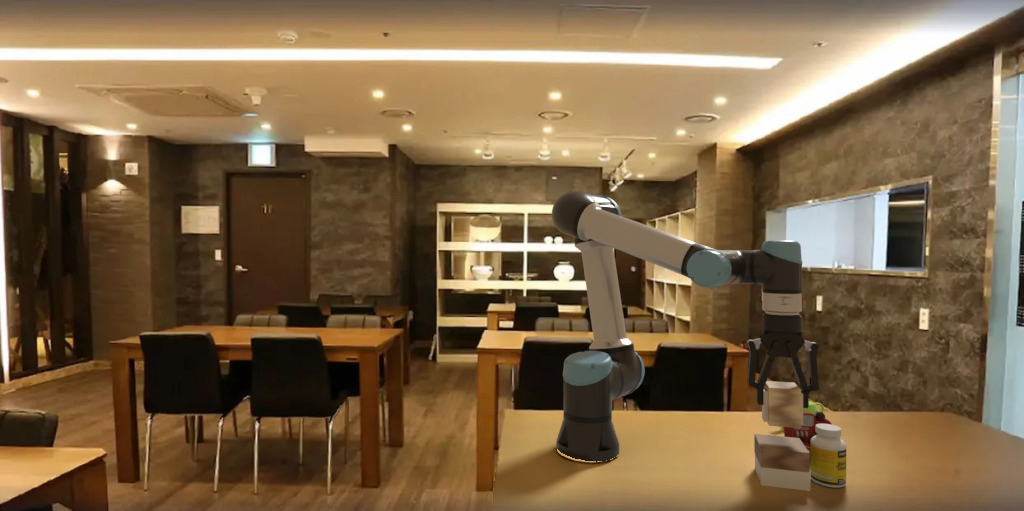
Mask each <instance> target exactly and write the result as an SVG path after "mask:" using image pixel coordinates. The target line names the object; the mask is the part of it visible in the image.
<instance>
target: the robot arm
mask: <svg viewBox="0 0 1024 511" xmlns="http://www.w3.org/2000/svg"><path fill="white" fill-rule="evenodd" d="M551 219H552V222H553V224H554V226H555V228H556V229H557V230H558V231H559V232H560V233H562V234H564V235H566V236H570V237H573V241H574V247H575V248H576V249H577V250H579V251H580V252H581V258H582V267H583V272H584V273H583V274H584V281H585V287H586V295H587V300H588V308H589V314H590V315H589V316H590V321H591V322H590V323H591V329H592V336H593V340H592V343H591V344H590V345H589V347H588V349H589V350H584V351H578V352H575V353H571V354H569V355H568V356H567V357H566V358H565V359H564V362H563V371H562V378H563V382H562V383H563V385H562V386H563V392H562V393H563V395H562V397H563V400H562V401H563V403H562V404H563V406H562V407H563V419H562V422H561V426H560V428H559V432H558V434H557V437H556V443H555V444H556V446H555V448H556V447H557V449H558V450H559V451H560V452H561V453H563V454H565V455H567V456H570V457H572V458H575V459H581V460H585V461H596V462H597V461H606V460H610V459H612V458H614V457H616V456H617V455H618V454H619V455H620V443H619V439H618V436H617V433H616V430H615V426H614V423H613V420H612V419H613V415H612V414H613V413H612V412H613V401H615V400H617V399H619V398H622V397H625V396H627V395H630V394H632V393H634V392H635V391H636V390H637V389H638V388H639V387H640V386H641V385H642V384H643V381H644V378H645V372H646V369H645V368H646V367H645V363H644V361H643V359H642V357H641V356H640V355H639V354H638V353H637V352H636V350H635V345H634V341H633V340H631V339H630V337H628V336H627V331H626V326H625V325H626V324H625V318H624V317H625V316H624V310H623V305H622V304H623V303H622V298H621V291H620V285H619V284H620V283H619V279H618V271H617V266H616V265H617V264H616V257H615V251H614V249H615V250H618V251H620V252H622V253H626V254H628V255H631V256H633V257H636V258H637V259H641V260H643V261H646V262H648V263H650V264H653V265H656V266H658V267H661V268H663V269H665V270H668V271H671V272H674V273H677V274H679V275H681V276H684V277H686V278H688V279H690V280H691V282H693V283H694V284H695V285H696V286H699V287H703V288H707V289H709V288H710V289H711V288H712V289H713V288H717V287H720V286H725V285H726V286H727V285H732V284H735V285H736V284H737V285H741V284H742V285H745V284H746V285H761V287H762V289H761V290H762V292H761V293H762V295H761V297H762V298H761V302H762V304H761V306H762V308H761V309H762V311H764V312H763V314H761V315H762V316H761V317H762V318H761V319H762V320H761V321H762V324H761V325H762V328H761V330H762V332H761V334H760V336H759V338H754V339H750V338H749V339H747V340H746V343H747V344H746V345H747V348H748V352H749V353H748V361H747V362H748V364H747V365H748V366H747V367H748V368H747V379H746V380H747V384H748V386H749V387H751V388H755V389H756V393H755V394H756V403H757V404H758V405H759V406H761V418H762V420H763V422H764V423H767V422H768V391H767V390H766V388H764V387H765V384H766V381H768V378H769V375H770V373H771V370H772V366H773V364H774V362H775V361H776V358H781V357H784V358H789V360H790V363H791V366H792V369H793V372H794V374H795V378H796V380H797V383H798V385H799V386H798V387H799V388H800V389H801V425H803V408H808V406H809V401H810V400H809V396H810V395H809V394H811V393H812V392H818V391H819V389H820V387H819V386H820V385H819V384H820V383H819V372H818V360H817V355H818V351H819V347H820V345H819V343H816V342H815V341H809V340H806V339H805V338H804V336H803V316H802V314H800V313H801V312H802V311H803V304H802V303H803V301H802V298H803V296H802V293H803V292H802V289H803V288H802V286H803V285H802V284H803V283H802V282H803V281H802V280H803V279H802V278H803V274H802V273H803V260H802V247H801V243H800V242H799V241H797V240H764V241H763V242H762V243H761V247H760V249H754V250H753V249H752V250H751V249H750V250H749V249H748V250H745V249H715V248H712V247H710V246H706V245H704V244H701V243H697V242H695V241H692V240H689V239H686V238H684V237H681V236H678V235H676V234H672V233H669V232H667V231H663V230H662V229H658V228H656V227H653V226H650V225H647V224H643V223H641V222H639V221H635V220H633V219H630V218H627V217H625V216H622V212H621V208H620V207H619V205H618V204H617V202H616V201H615V200H613V199H612V198H611V197H609V196H606V195H604V194H601V193H593V192H592V193H590V192H586V191H585V192H583V191H579V190H573V191H567V192H565V193H563V194H562V195H559V197H558V198H556V200H555V201H554V204H553V206H552V209H551ZM761 344H762V346H764V348H765V349H766V353H765V358H764V360H763V364H762V367H761V369H760V372H759V374H758V378H757V380H756V375H757V374H756V371H757V370H756V369H757V361H758V360H757V358H758V352H757V351H758V350H759V349H760V345H761ZM803 346H804V350H805V351H806V357H807V359H806V360H807V368H808V370H807V372H808V382H809V383H807V380H806V377H805V374H804V371H803V368H802V366H801V363H800V360H799V356H798V352H799V351H800V350H801V348H802V347H803Z"/></svg>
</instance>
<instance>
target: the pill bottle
mask: <svg viewBox="0 0 1024 511" xmlns="http://www.w3.org/2000/svg"><path fill="white" fill-rule="evenodd" d="M831 424H832V423H831ZM831 424H816V426H815V432H816V433H817V435H816V436H813V437H812V438H811V451H810V480H812V481H813V482H814V483H816V484H817V485H820V486H823V487H828V488H833V489H834V488H835V489H839V488H843V487H845V486H846V485H847V444H846V442H845V441H844V440H843V439H841V436H842V428H841V427H840V426H837V425H836V424H835V425H834V424H832V425H831Z"/></svg>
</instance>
